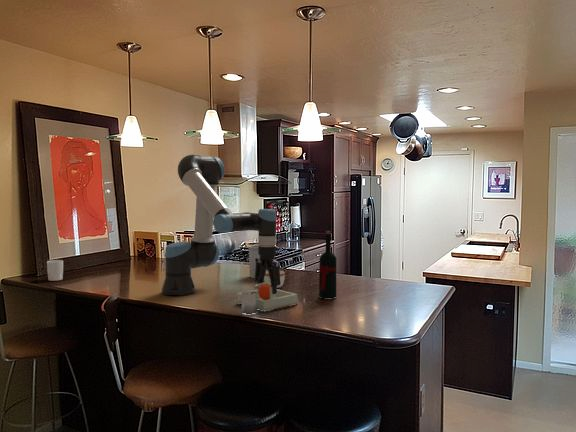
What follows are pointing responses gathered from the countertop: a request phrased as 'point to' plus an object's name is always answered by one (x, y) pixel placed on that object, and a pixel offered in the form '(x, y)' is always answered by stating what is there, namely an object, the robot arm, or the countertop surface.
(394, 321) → the countertop surface
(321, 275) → the wine bottle
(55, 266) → the white cup
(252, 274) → the utensil holder
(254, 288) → the wood block
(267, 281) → the lidded jar
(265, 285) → the clementine
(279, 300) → the sage tray
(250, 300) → the metal can
